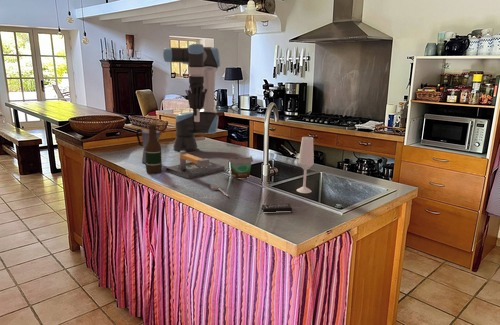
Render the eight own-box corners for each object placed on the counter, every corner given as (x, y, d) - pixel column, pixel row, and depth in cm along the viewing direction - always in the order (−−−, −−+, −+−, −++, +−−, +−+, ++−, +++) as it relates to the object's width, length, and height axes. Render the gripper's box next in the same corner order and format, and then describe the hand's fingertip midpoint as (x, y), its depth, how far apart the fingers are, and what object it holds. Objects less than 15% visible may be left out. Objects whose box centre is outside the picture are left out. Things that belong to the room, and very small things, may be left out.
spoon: (216, 186, 169) (216, 183, 169) (239, 201, 152) (239, 197, 152) (208, 188, 167) (208, 184, 167) (230, 202, 150) (230, 199, 150)
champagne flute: (296, 192, 163) (299, 138, 157) (296, 187, 170) (300, 135, 164) (311, 193, 162) (315, 139, 156) (311, 188, 169) (315, 136, 163)
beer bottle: (165, 170, 190) (163, 124, 184) (156, 174, 183) (154, 126, 177) (151, 169, 193) (150, 123, 186) (143, 173, 185) (140, 125, 179)
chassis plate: (202, 163, 207) (202, 158, 206) (224, 169, 195) (224, 165, 194) (165, 171, 189) (165, 166, 189) (188, 179, 178) (188, 174, 177)
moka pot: (158, 165, 200) (157, 128, 195) (132, 163, 203) (130, 126, 198) (166, 161, 209) (165, 125, 204) (140, 159, 212) (139, 124, 207)
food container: (234, 180, 177) (234, 160, 174) (228, 177, 182) (229, 157, 180) (256, 178, 183) (257, 158, 180) (251, 174, 188) (251, 155, 185)
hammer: (209, 176, 174) (209, 158, 172) (200, 178, 171) (200, 159, 169) (185, 167, 188) (185, 150, 186) (177, 169, 185) (177, 151, 183)
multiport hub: (292, 213, 141) (292, 207, 140) (263, 214, 139) (263, 208, 139) (288, 209, 145) (289, 203, 145) (261, 210, 143) (261, 204, 143)
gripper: (201, 74, 197) (201, 119, 203) (181, 75, 187) (182, 121, 194) (210, 75, 192) (210, 121, 199) (191, 76, 182) (192, 124, 189)
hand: (196, 121), depth 196 cm, fingers closed
